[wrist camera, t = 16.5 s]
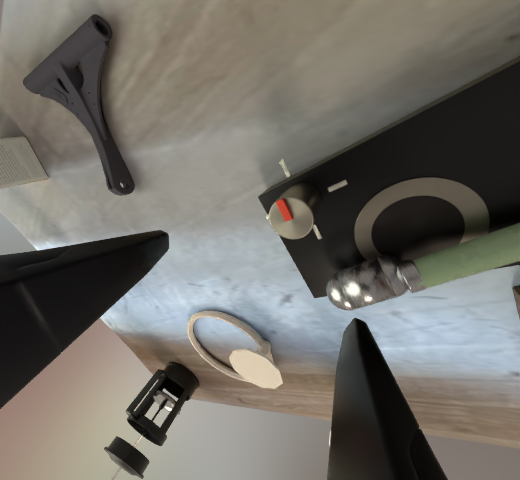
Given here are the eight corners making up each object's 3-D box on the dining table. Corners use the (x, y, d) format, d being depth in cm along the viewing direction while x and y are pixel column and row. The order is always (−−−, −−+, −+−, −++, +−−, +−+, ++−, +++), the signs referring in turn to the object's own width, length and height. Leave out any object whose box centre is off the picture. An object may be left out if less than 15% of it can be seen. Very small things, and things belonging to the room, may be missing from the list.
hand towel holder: (156, 333, 37) (246, 323, 26) (174, 314, 40) (260, 298, 29) (210, 396, 41) (307, 411, 30) (222, 374, 45) (312, 380, 34)
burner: (473, 153, 13) (474, 153, 12) (500, 262, 15) (501, 264, 14) (338, 205, 17) (338, 206, 17) (374, 284, 19) (374, 285, 19)
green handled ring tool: (721, 80, 10) (900, 54, 7) (727, 193, 11) (879, 214, 8) (310, 258, 19) (309, 281, 16) (343, 309, 20) (347, 339, 17)
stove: (531, 12, 11) (573, -13, 9) (563, 234, 15) (598, 254, 12) (257, 174, 21) (245, 181, 19) (316, 283, 24) (312, 299, 22)
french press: (206, 391, 52) (124, 542, 34) (180, 385, 57) (96, 514, 39) (183, 359, 48) (75, 509, 30) (157, 355, 53) (50, 483, 35)
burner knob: (328, 211, 17) (321, 233, 14) (293, 224, 19) (279, 246, 16) (311, 175, 16) (300, 190, 13) (277, 191, 18) (259, 209, 15)
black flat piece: (103, 198, 32) (84, 204, 29) (36, 78, 25) (5, 75, 23) (174, 182, 25) (156, 188, 23) (107, 18, 19) (74, 5, 17)
